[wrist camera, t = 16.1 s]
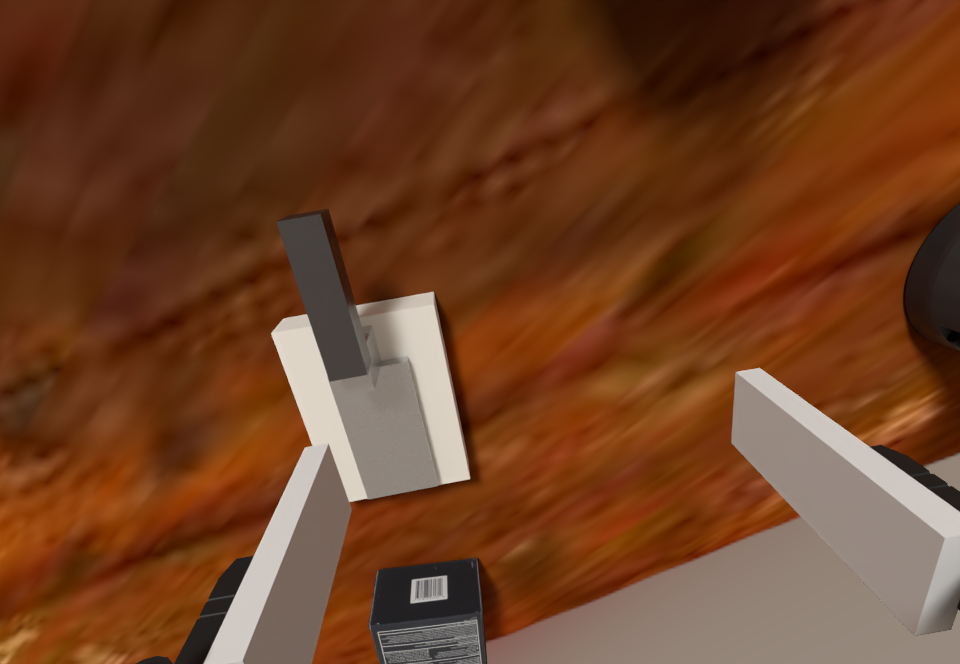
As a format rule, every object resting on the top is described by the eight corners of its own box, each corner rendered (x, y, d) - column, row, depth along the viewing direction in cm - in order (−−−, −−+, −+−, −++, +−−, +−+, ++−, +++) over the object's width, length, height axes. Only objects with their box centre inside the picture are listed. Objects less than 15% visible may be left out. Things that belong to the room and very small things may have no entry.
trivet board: (283, 318, 36) (271, 333, 33) (433, 291, 36) (433, 304, 34) (340, 481, 43) (334, 504, 40) (467, 457, 43) (470, 479, 40)
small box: (376, 565, 47) (390, 631, 52) (366, 626, 41) (383, 696, 46) (478, 554, 48) (483, 621, 52) (483, 613, 42) (489, 684, 46)
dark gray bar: (277, 211, 30) (242, 227, 25) (367, 195, 30) (353, 208, 25) (369, 491, 40) (359, 548, 34) (437, 477, 40) (438, 532, 34)
